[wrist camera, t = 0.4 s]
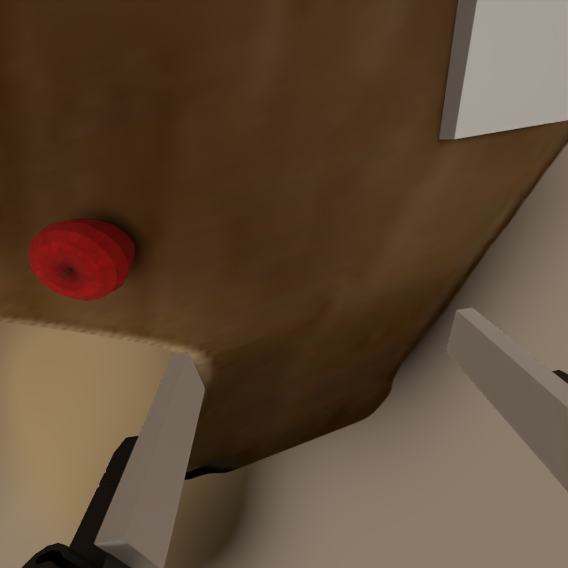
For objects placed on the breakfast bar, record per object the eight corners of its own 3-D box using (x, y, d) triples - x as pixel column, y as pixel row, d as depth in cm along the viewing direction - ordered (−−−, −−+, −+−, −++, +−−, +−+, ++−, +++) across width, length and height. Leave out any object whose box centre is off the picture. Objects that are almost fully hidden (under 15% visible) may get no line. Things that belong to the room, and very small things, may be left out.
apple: (148, 215, 35) (105, 243, 25) (150, 276, 39) (114, 319, 30) (67, 200, 33) (-11, 224, 24) (79, 265, 38) (17, 307, 28)
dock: (465, -50, 25) (488, -72, 22) (609, -75, 25) (650, -101, 22) (438, 139, 33) (454, 139, 30) (548, 120, 33) (572, 119, 30)
